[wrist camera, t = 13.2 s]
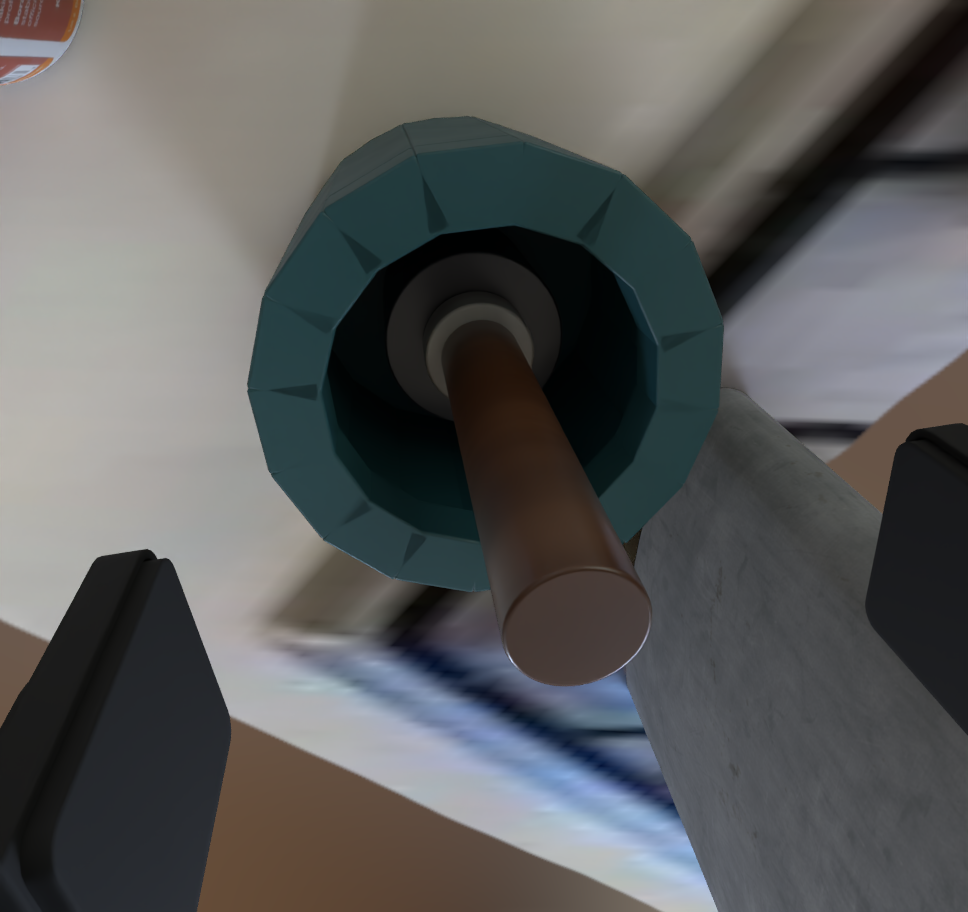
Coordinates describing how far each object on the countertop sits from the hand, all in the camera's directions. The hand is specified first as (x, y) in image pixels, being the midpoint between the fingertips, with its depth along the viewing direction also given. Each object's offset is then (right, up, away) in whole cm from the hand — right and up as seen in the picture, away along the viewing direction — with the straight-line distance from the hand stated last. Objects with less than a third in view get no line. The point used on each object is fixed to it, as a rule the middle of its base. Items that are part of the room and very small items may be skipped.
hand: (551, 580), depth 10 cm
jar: (-2, +7, +15) cm, 17 cm away
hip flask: (+7, -3, +22) cm, 23 cm away
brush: (-2, +7, +15) cm, 16 cm away
